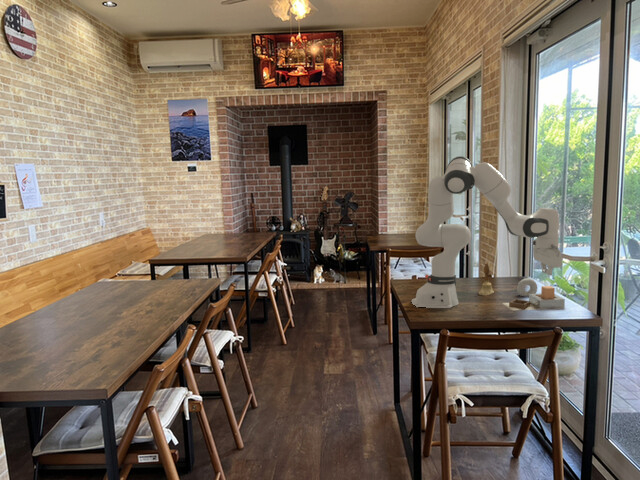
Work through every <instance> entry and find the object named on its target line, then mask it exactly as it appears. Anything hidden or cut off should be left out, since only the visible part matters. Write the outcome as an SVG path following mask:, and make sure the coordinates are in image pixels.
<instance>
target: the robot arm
mask: <svg viewBox="0 0 640 480" xmlns="http://www.w3.org/2000/svg"><path fill="white" fill-rule="evenodd" d="M473 187H476V188H477V189H478V190H479V191H480V192H481V194H482V195H483V196H484V197H485V198H486V199H487V200H488V202H490V204H491V205H492V206H493V207H494V209H495V210H496V212H497V213H498V215H500V217H501V218H502V219H503V221H504V223H505V226H506V229H507V231H508V233H510V235H512V236H516V237H524V238H530V239H531V238H532V239H533V238H536V239H534V240H532V246H533V247H532V254H533V255H532V256H533V260H534V261H535V262H539V263H540V266H541V271H542V273H543V274H546V275H548V276H552V275H553V270H554V268H555V269H556V268H557V269H558V268H562V266H563V256H562V255H563V254H562V252H561V251H562V250H560V249H559V246H560V245H559V242H560V239H559V238H560V237H559V229H560V215H559V212H558V210H557V209H555V208H552V207H544V206H542V207H539V208H538V210H536V211H535V212H533V213H531V214H528V215H526V214H521V213H519V212H517V211H516V209H514V207H513V205H512V204H511V203H510V202H509V201H508V198H509V197H510V195H511V193H512V191H511V190H512V188H511V185H510V183H509V182H508V180H507V179H506V178H505V177H504V175H502V173H501V172H499V171H498V170H497V169H496V168H495V167H494V166H493V165H491V164H490V163H488V162H485V161H483V162H480V163H477V164H476V165H475V166H474V165H473V164H472V161H471V160H470V159H469V158H467V157H465V156H461V155H460V156H456V157H454V158H452V159H451V160H450V161H449V163H448V165H447V167H446V168H445V170H444V174H443V175H441V176H440V175H439V176H435V177H433V178H432V179H431V180H430V181H429V184H428V193H427V194H428V195H427V199H428V215H427V218H426V220H425V221H424V222H423V223H422V224H421V225H419V226H418V228H417V229H416V231H415V240H416V242H417V244H418V245H420V246H424V247H431V248H435V247H436V248H444V249H443V251H442V252H440V253H438V254H436V255H434V256H433V257H432V258H431V265H430V266H431V274H430V275H429V274H425V275H424V277H425V280H427V282H426V283H425V284H424V285H422V286H421V287H420V288H418V289H417V291H416V294H415V298H413V299H411V302H412V303H411V305H412V304H413V305H415V306H416V307H415V306H414V307H415V308H418V307H426V308H425V309H451V308H453V307H456V306H458V305H459V299H458V295H457V290H456V289H457V275H456V263H457V262H456V261H457V256H458V255H459V253H460V251H461V250H462V249H463V248H465V247H466V246H468V244H469V243H470V242H471V238H472V232H471V230H470V228H469V227H468V225H464V224H458V223H447V224H446V223H445V222H447V221H448V220H450V219H451V218H452V217H453V215H454V210H455V209H454V194H455V195H457V194H462V193H464V192H466V191H468V190H472V189H473ZM413 305H412V306H413Z"/></svg>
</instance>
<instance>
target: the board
mask: <svg viewBox="0 0 640 480" xmlns="http://www.w3.org/2000/svg"><path fill="white" fill-rule="evenodd" d="M501 304H502V305H503V306H505V307H506V308H508V309H509V310H511V311H512V312H513V311H529V310H531V311H533V310H535V311H536V310H540V309H539V308H537V307H536V306H534V305H532V304H531V303H530V306H529V307H527V308H525V309H521V308H515V307H509V302H502V303H501ZM559 309H561V310H562V309H563V308H551V309H550V310H559Z"/></svg>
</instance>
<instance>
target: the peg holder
mask: <svg viewBox="0 0 640 480" xmlns="http://www.w3.org/2000/svg"><path fill="white" fill-rule="evenodd" d="M508 303H509V307H515V308H521V309H525V308H527V307H529V306H530V301H529V300H524V299H523V300H522V299H517V298H515V299H512V300H511V301H509V302H508Z"/></svg>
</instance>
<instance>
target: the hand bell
mask: <svg viewBox="0 0 640 480" xmlns="http://www.w3.org/2000/svg"><path fill="white" fill-rule="evenodd" d="M483 273H484V282H483V283H482V285H481V289H480V290H479V291H478V295H480V296H483V297H484V296H485V297H486V296H488V295H492V294H493V293H495V291H494V290H493V287H492V283H491V282H490V280H489V275H490V274H489V273H490V267H489V263H485V264H484V267H483Z"/></svg>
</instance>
